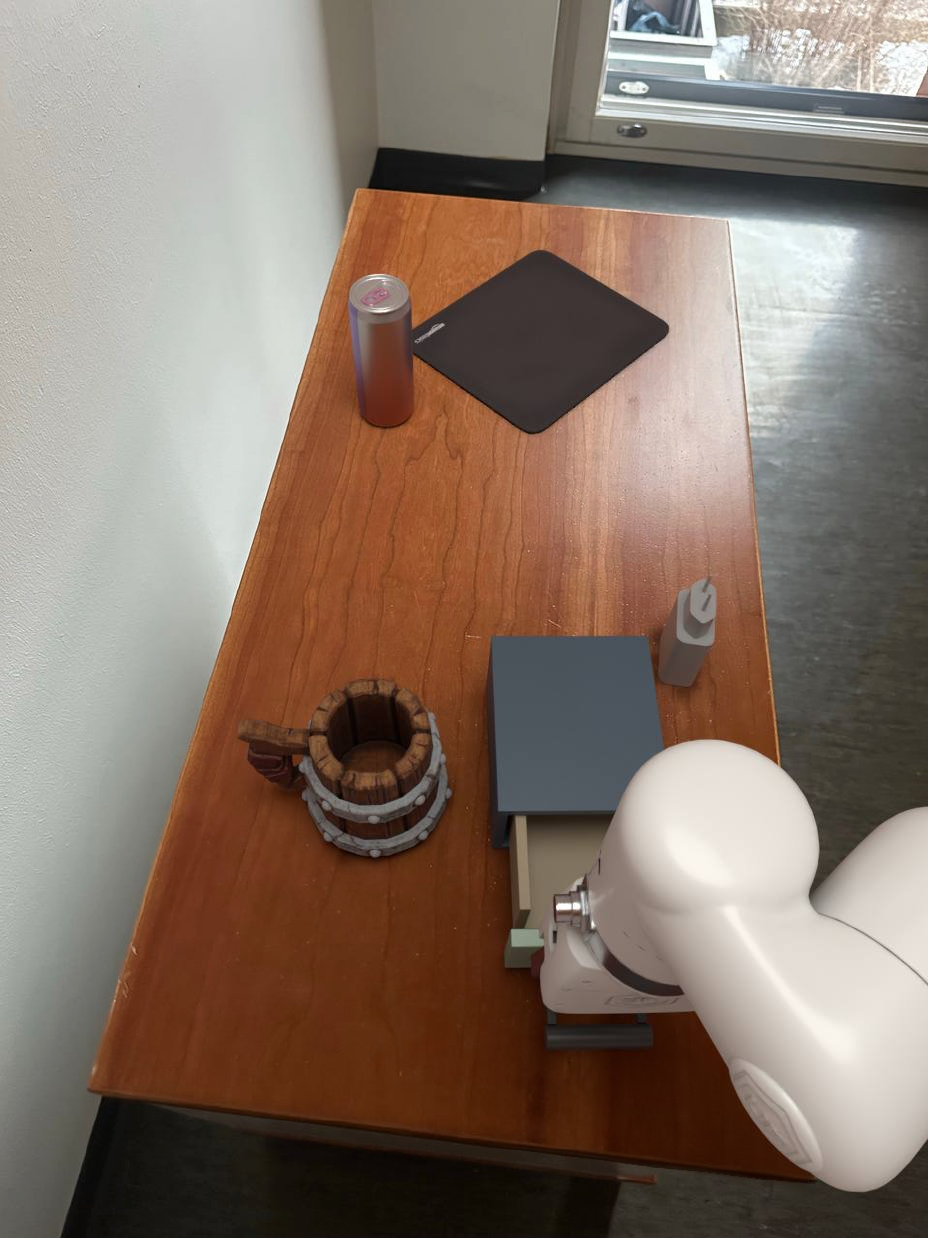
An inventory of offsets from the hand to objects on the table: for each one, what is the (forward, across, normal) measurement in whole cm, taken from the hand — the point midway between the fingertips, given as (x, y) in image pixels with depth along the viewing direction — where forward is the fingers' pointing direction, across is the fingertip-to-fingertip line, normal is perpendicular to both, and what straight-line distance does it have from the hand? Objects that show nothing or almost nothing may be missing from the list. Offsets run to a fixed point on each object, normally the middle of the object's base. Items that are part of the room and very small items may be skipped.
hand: (605, 987), depth 58 cm
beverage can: (+7, -16, +60) cm, 63 cm away
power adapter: (+8, +11, +29) cm, 32 cm away
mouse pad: (+7, +1, +72) cm, 72 cm away
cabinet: (+8, 0, +19) cm, 21 cm away
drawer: (+7, 0, +6) cm, 9 cm away
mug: (+8, -17, +16) cm, 25 cm away
